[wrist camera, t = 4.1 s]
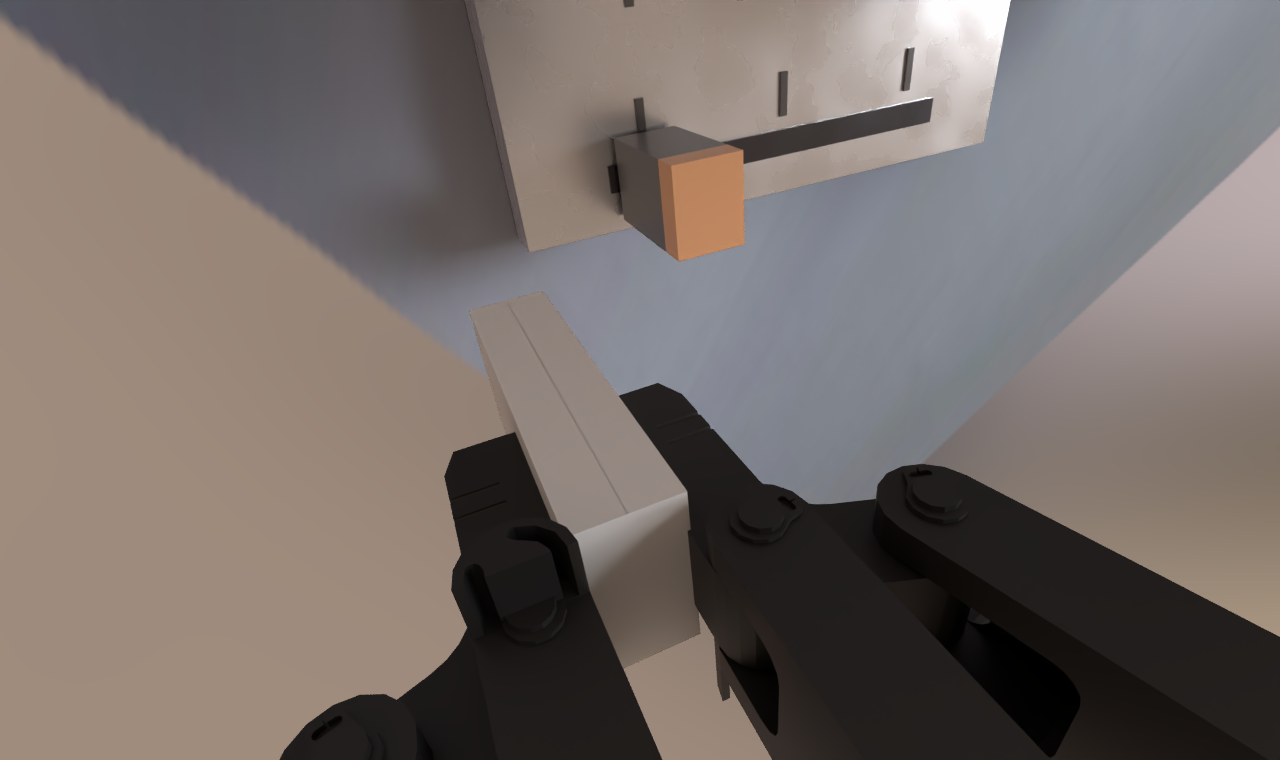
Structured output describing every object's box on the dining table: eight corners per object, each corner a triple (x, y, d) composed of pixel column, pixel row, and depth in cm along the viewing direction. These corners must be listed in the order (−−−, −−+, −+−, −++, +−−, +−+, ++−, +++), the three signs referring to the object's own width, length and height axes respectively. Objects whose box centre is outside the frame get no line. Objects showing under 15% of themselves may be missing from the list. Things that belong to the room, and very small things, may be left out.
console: (430, -151, 18) (437, -168, 16) (1003, -190, 24) (1051, -204, 22) (518, 237, 25) (530, 253, 23) (950, 135, 30) (984, 142, 29)
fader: (613, 137, 22) (671, 165, 18) (674, 125, 23) (743, 150, 19) (624, 219, 24) (678, 261, 20) (680, 205, 24) (744, 243, 20)
